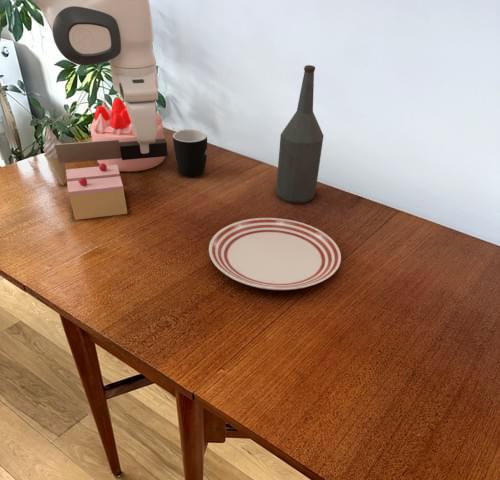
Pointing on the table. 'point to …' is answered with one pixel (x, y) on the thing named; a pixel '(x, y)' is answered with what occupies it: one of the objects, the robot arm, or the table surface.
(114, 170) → the cake
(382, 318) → the table surface
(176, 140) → the mug
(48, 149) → the ice cream cone
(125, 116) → the cake
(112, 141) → the knife
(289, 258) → the dinner plate
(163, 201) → the table surface
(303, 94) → the bottle
